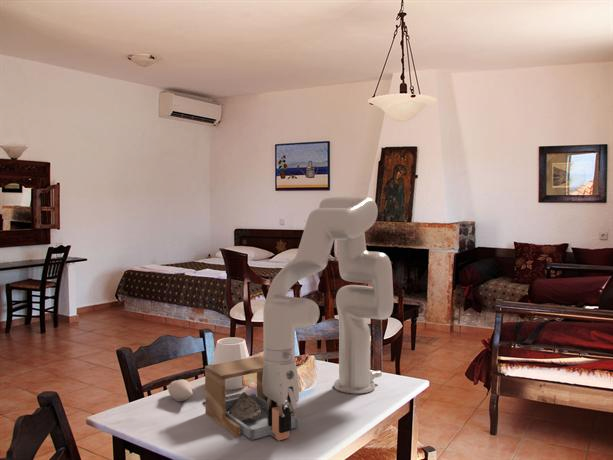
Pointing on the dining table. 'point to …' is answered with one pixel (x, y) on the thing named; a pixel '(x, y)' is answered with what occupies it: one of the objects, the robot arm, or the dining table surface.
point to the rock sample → (245, 409)
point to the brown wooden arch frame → (216, 388)
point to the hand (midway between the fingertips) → (279, 427)
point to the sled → (260, 431)
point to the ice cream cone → (180, 390)
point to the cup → (230, 357)
